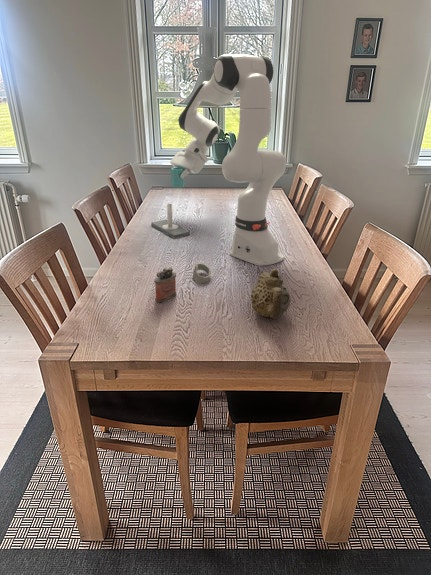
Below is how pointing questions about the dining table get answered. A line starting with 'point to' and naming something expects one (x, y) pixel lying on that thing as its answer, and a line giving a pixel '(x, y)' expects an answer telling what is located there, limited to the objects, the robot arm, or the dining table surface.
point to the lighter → (165, 285)
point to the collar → (177, 177)
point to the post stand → (170, 225)
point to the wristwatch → (197, 276)
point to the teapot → (270, 295)
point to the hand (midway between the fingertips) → (176, 176)
